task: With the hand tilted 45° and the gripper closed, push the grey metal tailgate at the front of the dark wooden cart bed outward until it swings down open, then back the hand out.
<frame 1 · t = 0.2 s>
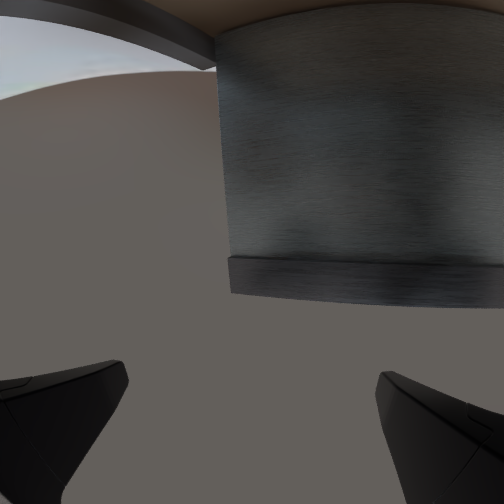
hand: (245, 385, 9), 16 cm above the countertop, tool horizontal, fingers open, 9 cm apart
tailgate: (489, 146, 8), point 9 cm above the countertop, hinge at 0.0°
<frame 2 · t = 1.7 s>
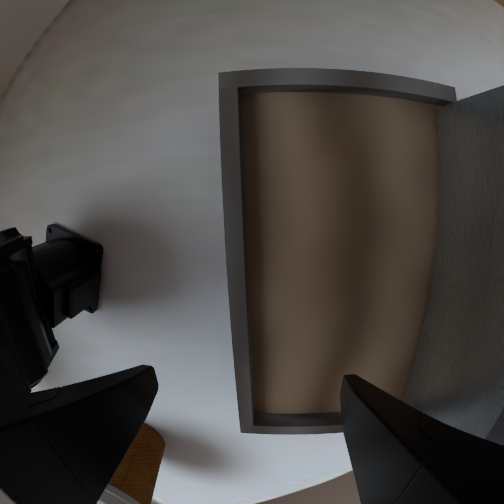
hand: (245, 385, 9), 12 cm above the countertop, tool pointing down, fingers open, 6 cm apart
disposable coffee cup: (141, 434, 28), on the countertop
tailgate: (485, 320, 11), point 9 cm above the countertop, hinge at 0.0°
cart bed: (339, 269, 20), on the countertop
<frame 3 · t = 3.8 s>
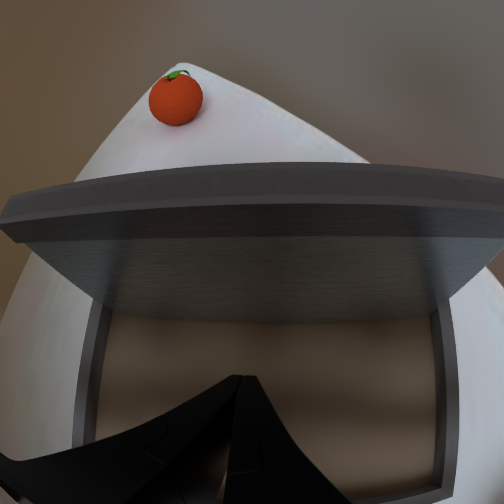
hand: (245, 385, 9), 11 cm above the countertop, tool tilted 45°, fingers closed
clementine: (184, 119, 36), on the countertop
tailgate: (257, 274, 13), point 9 cm above the countertop, hinge at 0.0°
cart bed: (264, 415, 18), on the countertop
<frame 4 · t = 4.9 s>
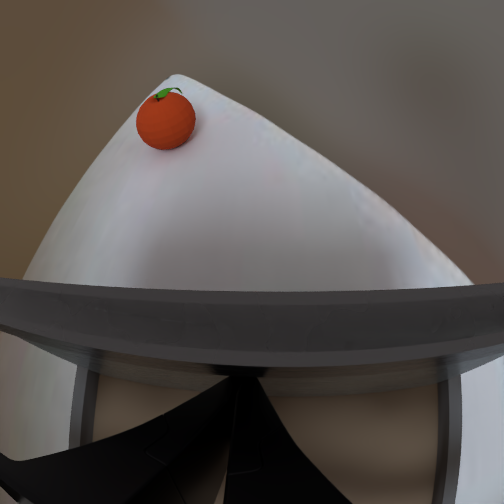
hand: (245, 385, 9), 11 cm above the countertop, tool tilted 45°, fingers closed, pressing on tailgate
clementine: (176, 141, 34), on the countertop
tailgate: (251, 372, 11), point 9 cm above the countertop, hinge at 1.8°, touching gripper
cart bed: (260, 478, 15), on the countertop
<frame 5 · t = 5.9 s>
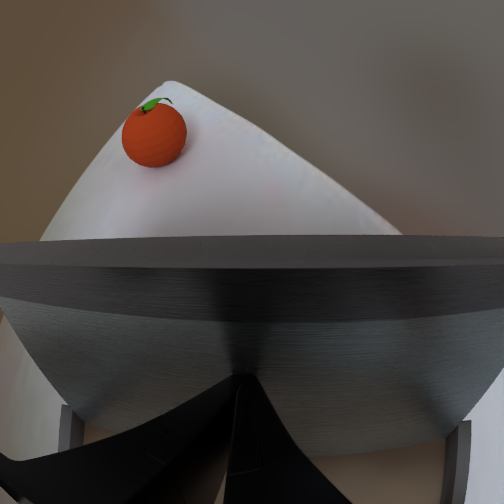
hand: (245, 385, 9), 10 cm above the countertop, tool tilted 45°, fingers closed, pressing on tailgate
clementine: (166, 157, 31), on the countertop
tailgate: (249, 391, 10), point 8 cm above the countertop, hinge at 29.3°, touching gripper
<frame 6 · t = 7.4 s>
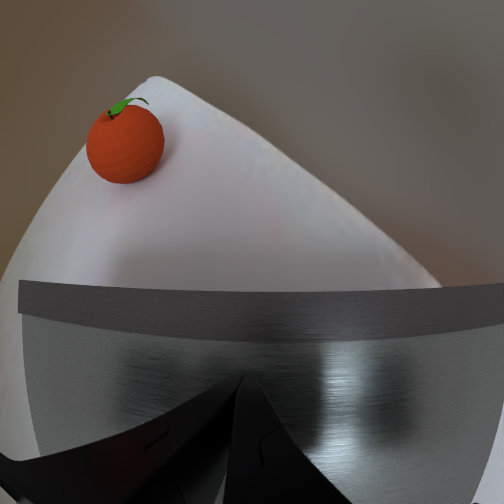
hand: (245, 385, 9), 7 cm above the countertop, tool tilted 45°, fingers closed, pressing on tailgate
clementine: (142, 169, 25), on the countertop
tailgate: (246, 449, 9), point 5 cm above the countertop, hinge at 69.7°, touching gripper
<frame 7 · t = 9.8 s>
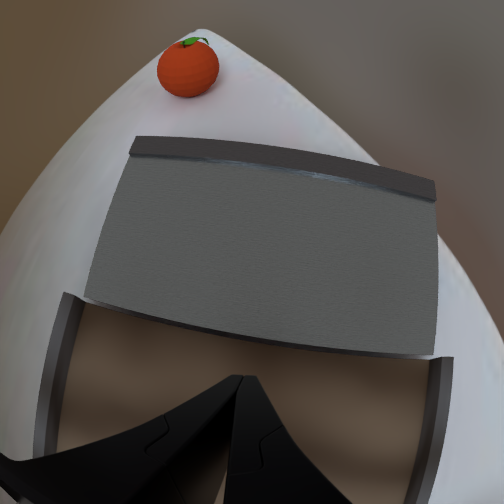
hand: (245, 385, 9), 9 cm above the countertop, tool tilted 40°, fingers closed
clementine: (194, 91, 31), on the countertop
tailgate: (273, 235, 18), point 4 cm above the countertop, hinge at 81.8°
cart bed: (235, 448, 16), on the countertop
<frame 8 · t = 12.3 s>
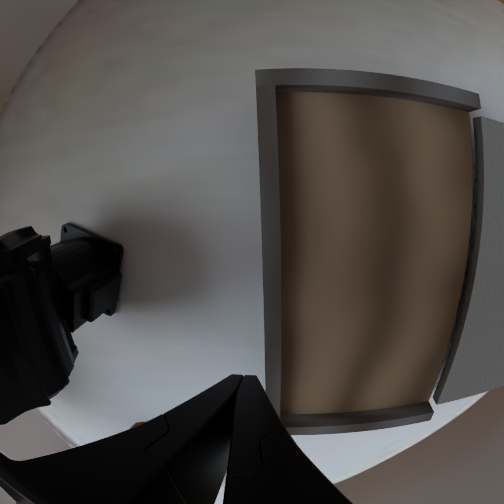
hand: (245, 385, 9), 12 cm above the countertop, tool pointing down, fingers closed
cart bed: (366, 269, 20), on the countertop
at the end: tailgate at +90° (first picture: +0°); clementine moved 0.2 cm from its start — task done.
